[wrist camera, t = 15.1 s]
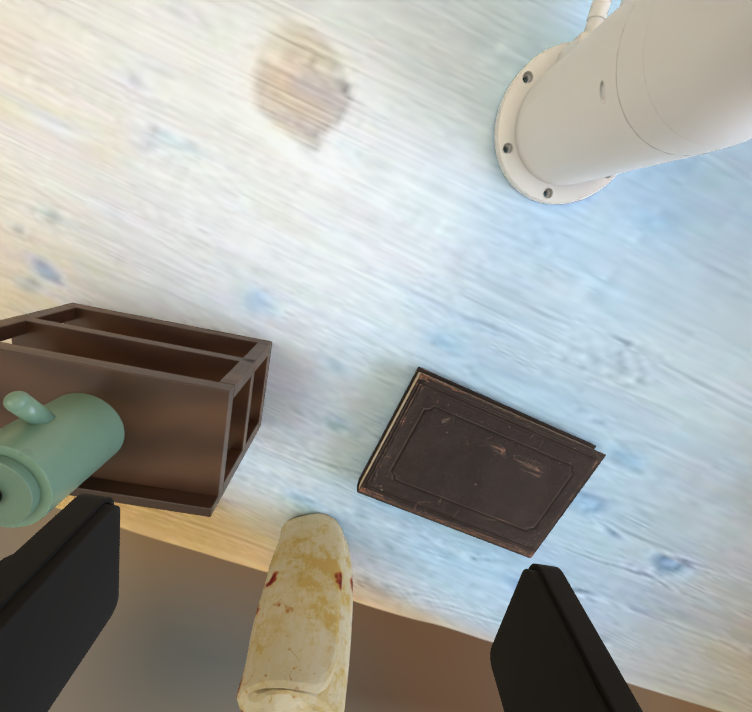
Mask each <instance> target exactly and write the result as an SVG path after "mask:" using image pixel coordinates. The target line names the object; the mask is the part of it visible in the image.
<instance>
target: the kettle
mask: <svg viewBox="0 0 752 712" xmlns="http://www.w3.org/2000/svg"><path fill="white" fill-rule="evenodd" d="M3 405H4V407H5V408H6V409H7V410H8V411H10V412H11V413H13V414H14V415H16V416H18V417H19V419H17V420H15V421H13V422H11V423H9V424H7V425H6V426H4V427H2V428H0V526H2V527H23V526H28V525H30V524H33V523H35V522H37V521H39V520H40V519H42V518H43V517H44V516H45V515H46V514H47V513H49V512H50V511H51V510H52V509H53V508H54V507H56V506H57V505H58V504H59V503H60V502H61V501H62V500H63V499H65V498H66V497H67V496H68V495H69V494H70V493H71V492H73V491H74V490H75V489H76V488H77V487H78V486H79V485H81V484H82V483H83V482H84V481H85V480H86V479H87V478H89V477H90V476H91V475H92V474H93V473H94V472H95V471H96V470H98V469H99V468H100V467H101V466H102V465H103V464H104V463H106V462H107V461H108V460H109V459H110V458H111V457H112V456H114V455H115V454H116V453H117V452H118V451H119V449H120V448H121V446H122V444H123V441H124V435H125V433H124V426H123V423H122V420H121V419H120V417H119V415H118V414H117V412H116V411H115V410H114V409H113V408H112V407H111V406H110V405H109V404H108V403H106V402H105V401H103V400H102V399H100V398H98V397H95V396H93V395H89V394H85V393H69V394H65V395H62V396H60V397H58V398H56V399H54V400H52V401H51V402H49V403H47V404H45V405H42V404H41V403H39V402H38V401H37V400H35V399H34V398H33V397H32V396H30V395H29V394H28V393H26V392H23V391H14V392H11V393H9V394H7V395H6V396H5V398H4V400H3Z"/></svg>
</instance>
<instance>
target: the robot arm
mask: <svg viewBox="0 0 752 712" xmlns="http://www.w3.org/2000/svg"><path fill="white" fill-rule="evenodd" d="M611 2H612V1H611V0H593V2H592V5H591V8H590V11H589V14H588V17H587V24H586V27H585V30H584V32H582V33H580V34H579V35H578V36H577V37H576V38H575V39H574V40H573V41H572V42H568V43H562V44H560V45H557V46H554V47H551V48H549V49H547V50H546V51H544V52H542V53H541V54H539V55H537V56H536V57H535V58H534V59H532V60H531V61H530V62H529V63H528V64H527V65H526V66H525V67H524V68H523V69H522V70H521V71H520V72H519V73H518V74H517V75H516V77H515V78H514V79H513V81H512V82H511V84H510V85H509V87H508V88H507V90H506V92H505V94H504V96H503V99H502V101H501V103H500V106H499V109H498V113H497V117H496V122H495V132H494V140H495V151H496V155H497V159H498V163H499V165H500V167H501V169H502V172H503V174H504V176H505V177H506V179H507V180H508V181H509V183H510V184H511V185H512V186H513V187H514V188H515V189H516V190H517V191H518V192H519V193H521V194H522V195H524V196H525V197H527V198H529V199H531V200H533V201H536V202H540V203H543V204H554V205H558V204H567V203H571V202H576V201H580V200H582V199H584V198H587V197H589V196H591V195H593V194H595V193H596V192H598V191H599V190H601V189H602V188H604V187H605V186H606V185H607V184H608V183H609V182H610V181H612V180H613V179H614V178H615V176H616V175H617V174H620V173H624V172H628V171H633V170H637V169H641V168H646V167H650V166H654V165H658V164H663V163H667V162H671V161H676V160H680V159H684V158H688V157H693V156H697V155H701V154H706V153H708V152H713V151H717V150H721V149H725V148H728V147H731V146H734V145H737V144H740V143H743V142H745V141H748V140H750V139H752V0H621V4H620V7H619V8H618V9H616V10H615V11H614V12H613V13H612V14H611V15H610V16H609V17H608V18H606V17H607V14H608V11H609V8H610V5H611ZM523 78H525V79H526V83H525V82H524V81H523ZM504 147H505V148H507V152H506V153H504V151H503V148H504ZM544 191H545V192H546V196H545V197H544V196H543V192H544ZM119 540H120V507H119V506H116V505H114V500H113V499H112V498H111V497H106V496H99V495H93V494H86V493H83V494H80V495H78V496H77V497H76V498H75V499H73V500H72V501H71V502H70V503H69V504H68V505H67V506H66V507H65V508H64V509H62V510H61V511H60V512H59V513H58V514H57V515H56V516H55V517H54V518H53V519H52V520H50V521H49V522H48V523H47V524H46V525H45V526H44V527H43V528H42V529H40V530H39V531H38V532H37V533H36V534H35V535H34V536H33V537H32V538H31V539H29V540H28V541H27V542H26V543H25V544H24V545H23V546H22V547H21V548H20V549H19V550H17V551H16V552H15V553H14V554H12V555H10V556H8V557H6V558H4V559H3V560H1V561H0V712H48V710H49V709H50V707H51V706H52V704H53V703H54V701H55V700H56V698H57V697H58V695H59V694H60V692H61V691H62V689H63V688H64V686H65V685H66V683H67V682H68V680H69V679H70V677H71V676H72V674H73V673H74V671H75V670H76V668H77V666H78V665H79V664H80V662H81V661H82V659H83V658H84V656H85V655H86V653H87V652H88V650H89V649H90V647H91V646H92V644H93V643H94V641H95V640H96V638H97V637H98V635H99V634H100V632H101V631H102V629H103V628H104V626H105V625H106V623H107V622H108V620H109V619H110V617H111V616H112V614H113V612H114V610H115V607H116V605H117V601H118V596H119V591H118V590H119V546H120V544H119V543H120V541H119ZM490 660H491V666H492V670H493V674H494V677H495V681H496V684H497V687H498V691H499V695H500V698H501V702H502V705H503V709H504V712H643V711H642V709H641V708H640V706H639V704H638V703H637V701H636V699H635V697H634V696H633V694H632V692H631V690H630V689H629V687H628V685H627V683H626V682H625V680H624V678H623V676H622V675H621V673H620V671H619V669H618V668H617V666H616V664H615V662H614V661H613V659H612V657H611V656H610V654H609V652H608V650H607V649H606V647H605V645H604V643H603V642H602V640H601V638H600V636H599V635H598V633H597V631H596V629H595V628H594V626H593V624H592V623H591V621H590V619H589V617H588V616H587V614H586V612H585V610H584V609H583V607H582V605H581V603H580V602H579V600H578V598H577V596H576V595H575V593H574V591H573V589H572V588H571V586H570V584H569V583H568V581H567V579H566V577H565V576H564V574H563V572H562V571H561V570H560V569H559V568H558V567H554V566H547V565H541V564H532V565H531V566H530V567H529V569H525V570H523V572H522V574H521V577H520V579H519V582H518V584H517V586H516V589H515V591H514V594H513V596H512V598H511V601H510V603H509V606H508V608H507V611H506V613H505V615H504V618H503V620H502V623H501V625H500V628H499V630H498V632H497V635H496V637H495V640H494V642H493V645H492V648H491V652H490Z"/></svg>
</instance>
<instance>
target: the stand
mask: <svg viewBox="0 0 752 712" xmlns="http://www.w3.org/2000/svg"><path fill="white" fill-rule="evenodd" d="M63 323H64V324H63ZM10 338H12V344H9V343H3V342H0V428H2V427H4V426H6V425H7V424H9V423H11V422H13V421H15V420H17V419H19V417H18V416H16V415H14V414H13V413H11V412H10V411H8V410H7V409H6V408H5V407H4V405H3V400H4V398H5V396H6V395H7V394H9V393H11V392H14V391H23V392H26V393H28V394H29V395H30V396H32V397H33V398H34V399H35V400H37V401H38V402H39V403H41V404H42V405H45V404H47V403H49V402H51V401H52V400H54V399H56V398H58V397H60V396H62V395H65V394H69V393H85V394H89V395H93V396H95V397H98V398H100V399H102V400H103V401H105V402H106V403H108V404H109V405H110V406H111V407H112V408H113V409H114V410H115V411H116V412H117V414H118V415H119V417H120V419H121V420H122V423H123V426H124V433H125V435H124V441H123V444H122V446H121V448H120V449H119V451H118V452H117V453H116V454H115V455H114V456H112V457H111V458H110V459H109V460H108V461H107V462H106V463H104V464H103V465H102V466H101V467H100V468H99V469H98V470H96V471H95V472H94V473H93V474H92V475H91V476H90V477H89V478H87V479H86V480H85V481H84V482H83V483H82V484H81V485H79V486H78V487H77V488H76V489H75V490H74V491H73V492H71V493H70V494H69V495H72V496H78V495H80V494H83V493H86V494H93V495H99V496H106V497H111V498H112V499H113V500H114V502H117V503H123V504H130V505H136V506H143V507H149V508H156V509H162V510H168V511H175V512H181V513H188V514H194V515H201V516H207V517H211V515H212V513H213V511H214V509H215V508H216V506H217V504H218V502H219V500H220V498H221V497H222V495H223V493H224V491H225V490H226V488H227V486H228V484H229V482H230V480H231V479H232V477H233V475H234V473H235V471H236V470H237V468H238V466H239V464H240V462H241V460H242V459H243V457H244V455H245V453H246V451H247V450H248V448H249V446H250V444H251V442H252V441H253V439H254V437H255V435H256V433H257V431H258V430H259V428H260V426H261V419H262V412H263V404H264V397H265V390H266V383H267V375H268V368H269V361H270V354H271V346H272V342H270V341H265V340H260V339H255V338H250V337H244V336H239V335H234V334H229V333H224V332H219V331H214V330H209V329H203V328H198V327H193V326H188V325H183V324H178V323H173V322H168V321H162V320H157V319H152V318H147V317H142V316H137V315H132V314H127V313H121V312H116V311H111V310H106V309H101V308H96V307H91V306H85V305H80V304H75V303H70V304H66V305H62V306H58V307H54V308H50V309H46V310H41V311H37V312H33V313H29V314H25V315H20V316H16V317H12V318H8V319H4V320H0V341H3V340H7V339H10Z"/></svg>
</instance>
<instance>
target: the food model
mask: <svg viewBox="0 0 752 712" xmlns="http://www.w3.org/2000/svg"><path fill="white" fill-rule="evenodd" d="M352 605H353V579H352V565H351V558H350V553H349V548H348V543H347V541H346V539H345V537H344V535H343V530H342V528H341V527H340V525H339V524H338V522H337V521H336V520H335V519H333V518H332V517H330V516H328V515H325V514H318V513H315V514H309V515H304V516H300V517H297V518H294V519H290V520H289V521H287V522H286V523H285V524H284V526H283V528H282V530H281V535H280V539H279V542H278V545H277V547H276V550H275V552H274V555H273V558H272V560H271V564H270V567H269V571H268V575H267V579H266V583H265V586H264V590H263V593H262V596H261V599H260V601H259V605H258V608H257V612H256V616H255V620H254V624H253V628H252V633H251V638H250V645H249V650H248V655H247V660H246V665H245V669H244V673H243V676H242V680H241V683H240V686H239V689H238V693H237V700H238V704H239V708H240V710H241V711H242V712H344V708H345V698H346V689H347V679H348V668H349V657H350V644H351V627H352Z"/></svg>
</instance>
